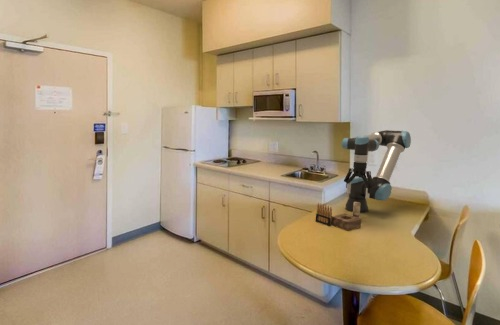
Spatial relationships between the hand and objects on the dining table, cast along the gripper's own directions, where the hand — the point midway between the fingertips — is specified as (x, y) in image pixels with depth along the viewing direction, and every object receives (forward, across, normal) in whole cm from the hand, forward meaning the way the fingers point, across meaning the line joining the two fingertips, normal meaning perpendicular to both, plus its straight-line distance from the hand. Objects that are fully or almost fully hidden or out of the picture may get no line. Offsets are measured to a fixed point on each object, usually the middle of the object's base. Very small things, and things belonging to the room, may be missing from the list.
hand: (357, 196), depth 175 cm
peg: (+16, 0, 0) cm, 16 cm away
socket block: (+16, +2, -12) cm, 20 cm away
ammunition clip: (+17, -7, -20) cm, 27 cm away
